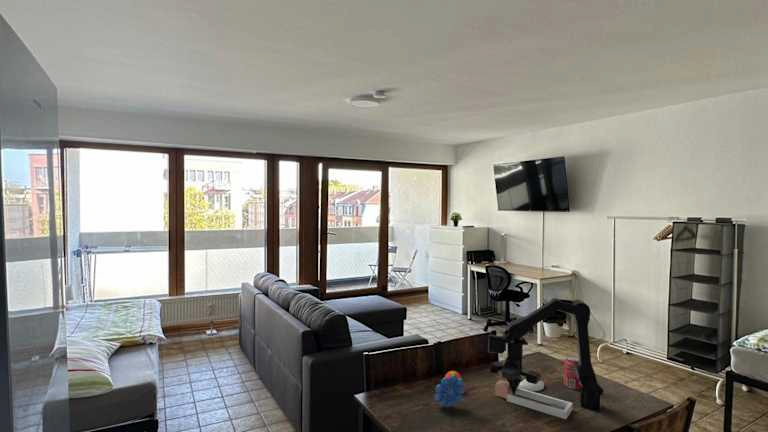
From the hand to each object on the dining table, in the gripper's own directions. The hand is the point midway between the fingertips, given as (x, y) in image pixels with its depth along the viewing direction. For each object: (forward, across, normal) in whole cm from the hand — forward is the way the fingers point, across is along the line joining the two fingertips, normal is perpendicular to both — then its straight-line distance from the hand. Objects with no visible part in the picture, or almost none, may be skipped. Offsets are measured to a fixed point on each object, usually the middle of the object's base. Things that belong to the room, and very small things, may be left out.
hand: (513, 393), depth 163 cm
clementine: (+2, -23, -8) cm, 24 cm away
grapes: (+2, -17, -22) cm, 28 cm away
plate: (+2, -1, +16) cm, 16 cm away
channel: (+2, +9, 0) cm, 10 cm away
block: (+2, -4, 0) cm, 4 cm away
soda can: (+2, +16, +26) cm, 30 cm away
